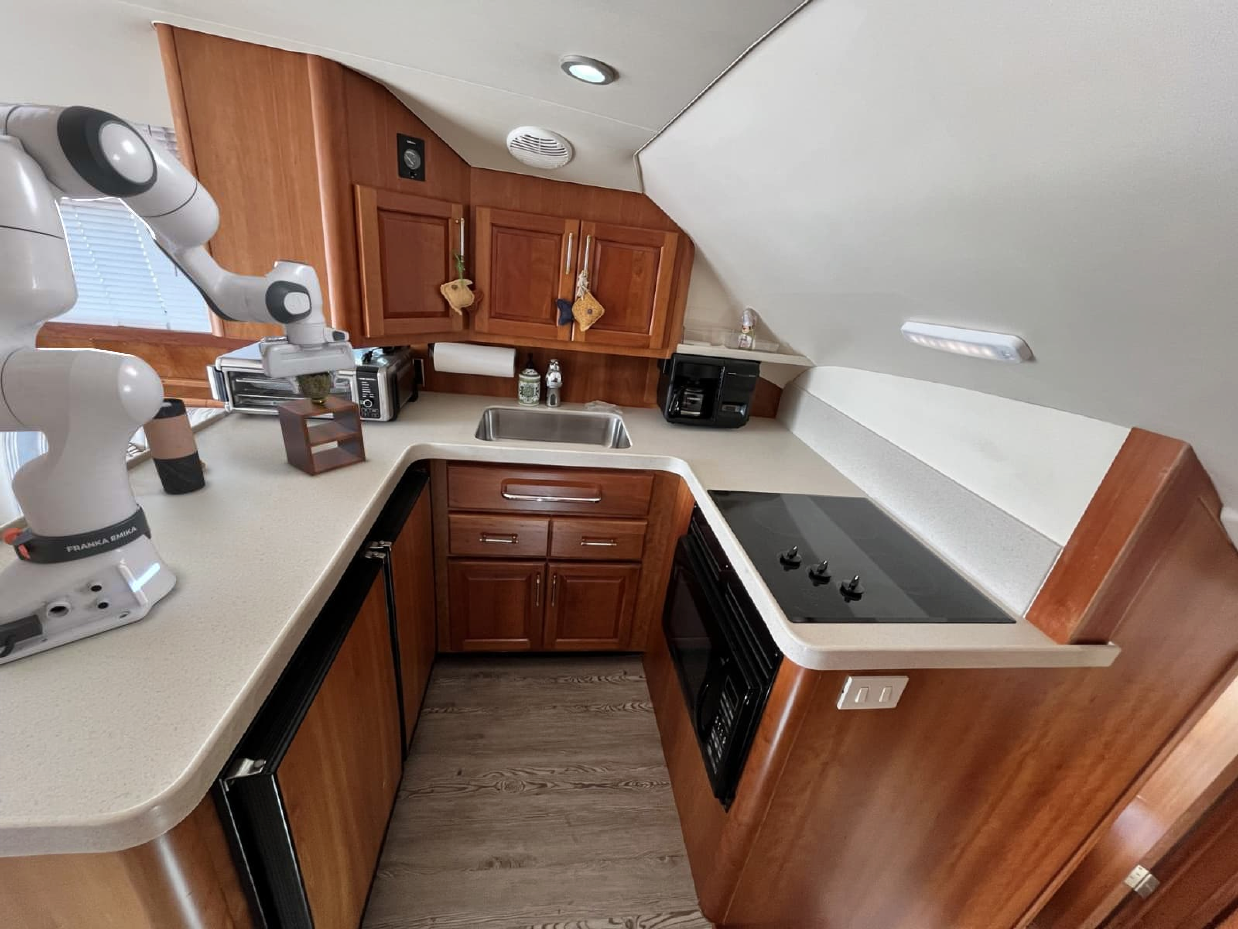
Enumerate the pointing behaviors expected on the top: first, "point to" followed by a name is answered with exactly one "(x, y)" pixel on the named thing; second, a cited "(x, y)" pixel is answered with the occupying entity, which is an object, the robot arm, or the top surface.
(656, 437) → the top surface
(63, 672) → the top surface
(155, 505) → the top surface
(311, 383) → the cup
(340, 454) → the shelf
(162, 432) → the travel mug
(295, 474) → the top surface
